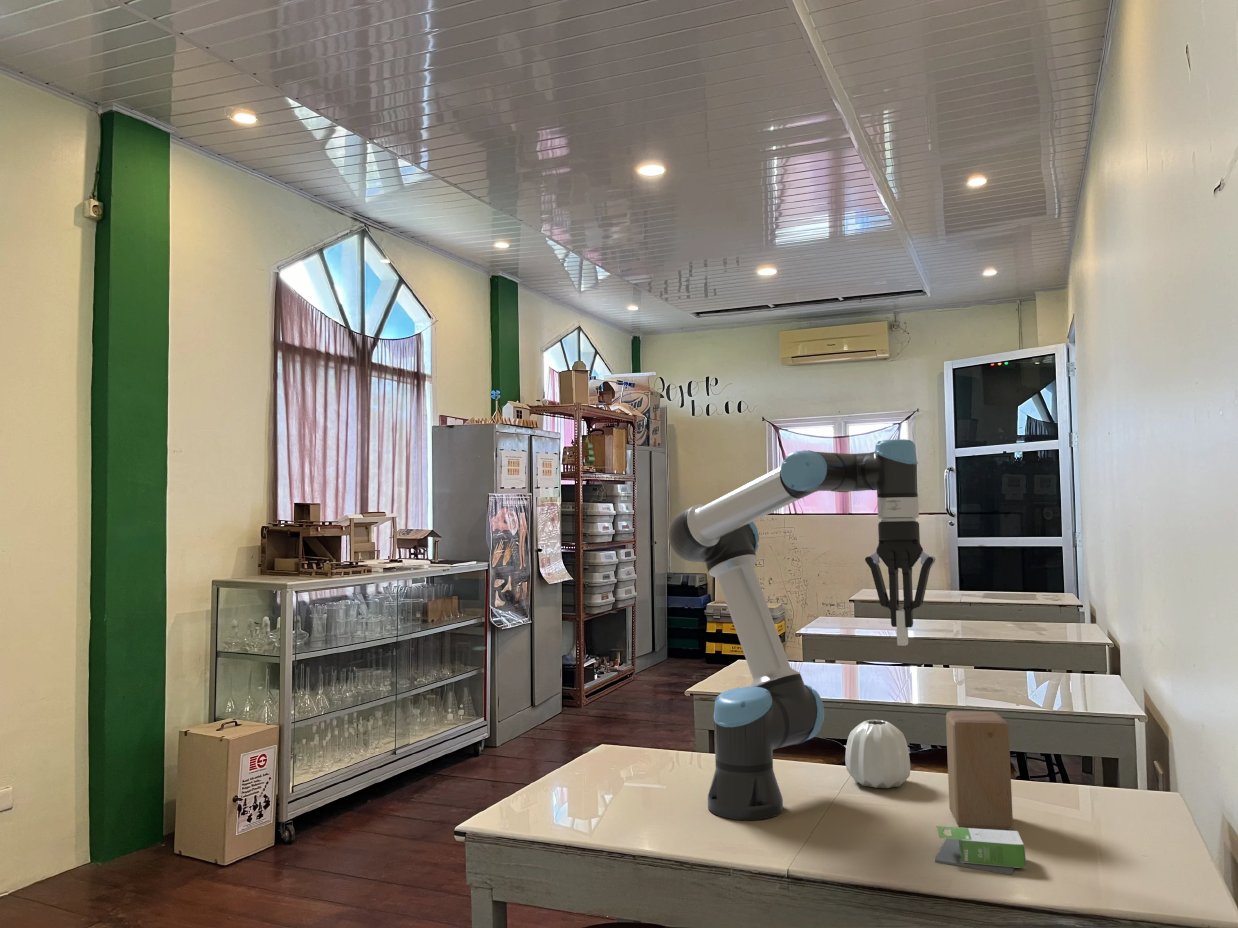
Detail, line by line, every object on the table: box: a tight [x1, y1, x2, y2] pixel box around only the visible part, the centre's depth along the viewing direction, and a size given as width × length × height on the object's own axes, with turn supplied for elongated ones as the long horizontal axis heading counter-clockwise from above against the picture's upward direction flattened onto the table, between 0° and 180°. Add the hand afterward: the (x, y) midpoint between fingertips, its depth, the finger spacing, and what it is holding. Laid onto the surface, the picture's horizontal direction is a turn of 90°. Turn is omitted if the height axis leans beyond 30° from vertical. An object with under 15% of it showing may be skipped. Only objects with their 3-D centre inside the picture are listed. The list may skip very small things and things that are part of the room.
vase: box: [844, 719, 911, 789], centre depth 196 cm, size 14×14×13 cm
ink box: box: [936, 825, 1027, 869], centre depth 151 cm, size 7×4×13 cm
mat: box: [934, 838, 1015, 876], centre depth 153 cm, size 12×12×1 cm
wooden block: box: [945, 710, 1014, 831], centre depth 171 cm, size 10×10×20 cm
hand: (902, 644), depth 169 cm, fingers closed
